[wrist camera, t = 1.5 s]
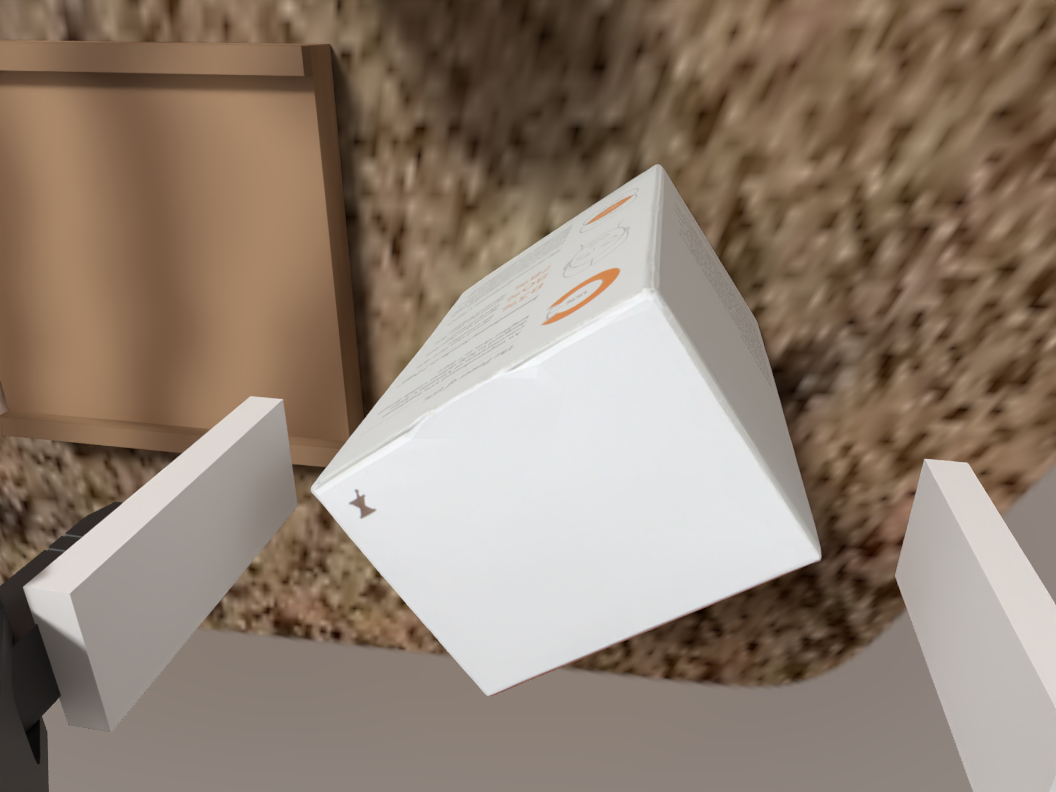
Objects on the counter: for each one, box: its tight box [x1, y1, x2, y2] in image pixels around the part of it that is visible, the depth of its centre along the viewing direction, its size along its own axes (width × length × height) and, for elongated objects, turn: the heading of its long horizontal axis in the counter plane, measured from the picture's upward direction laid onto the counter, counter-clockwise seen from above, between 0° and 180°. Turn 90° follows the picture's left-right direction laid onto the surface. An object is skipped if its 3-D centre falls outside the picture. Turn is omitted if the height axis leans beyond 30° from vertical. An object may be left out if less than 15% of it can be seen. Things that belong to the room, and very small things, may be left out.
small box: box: [311, 164, 821, 696], centre depth 21 cm, size 8×6×13 cm
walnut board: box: [0, 40, 364, 467], centre depth 28 cm, size 14×14×2 cm
